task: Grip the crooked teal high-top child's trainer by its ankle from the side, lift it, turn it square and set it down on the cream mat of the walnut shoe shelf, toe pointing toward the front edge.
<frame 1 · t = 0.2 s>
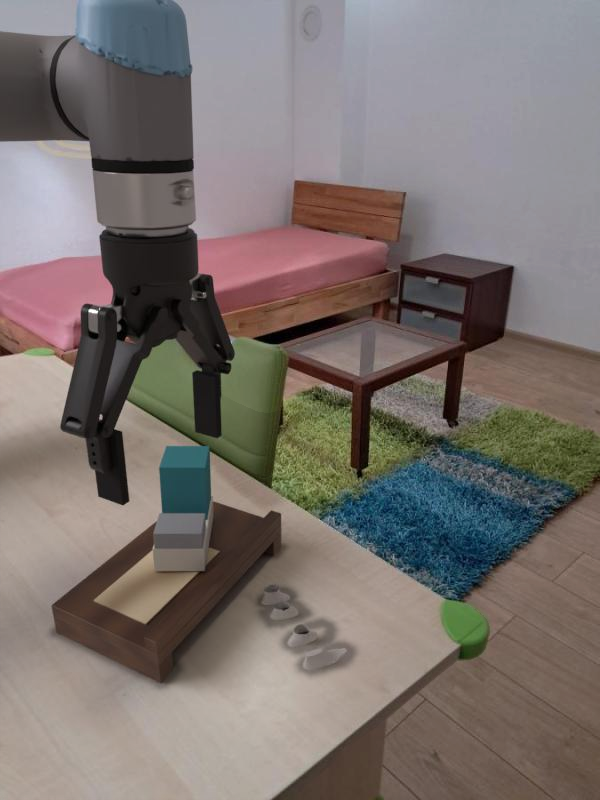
hand: (165, 463, 58), 22 cm above the table, tool pointing down, fingers open, 13 cm apart
trainer: (185, 541, 75), point 5 cm above the table, touching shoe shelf
baby socks: (301, 634, 69), on the table
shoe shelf: (179, 591, 74), on the table
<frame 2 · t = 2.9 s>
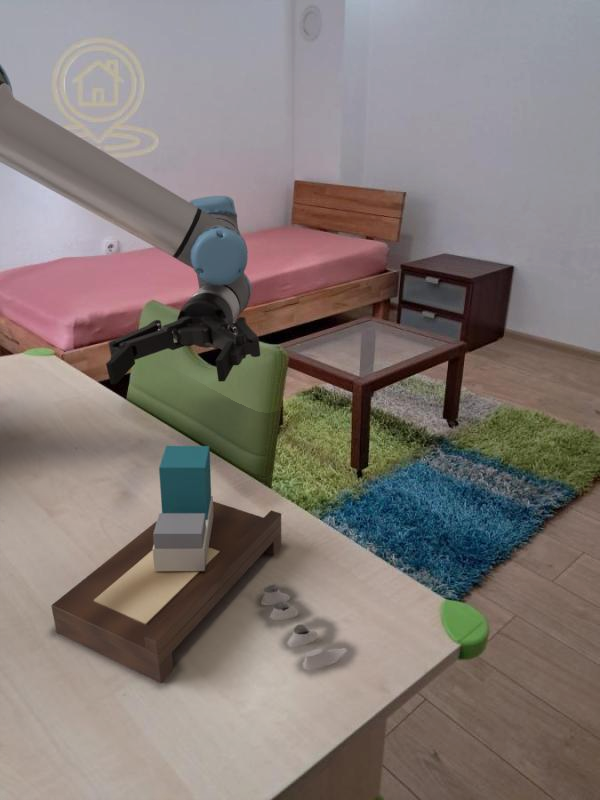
hand: (164, 372, 76), 23 cm above the table, tool horizontal, fingers open, 13 cm apart
nothing on the table moved.
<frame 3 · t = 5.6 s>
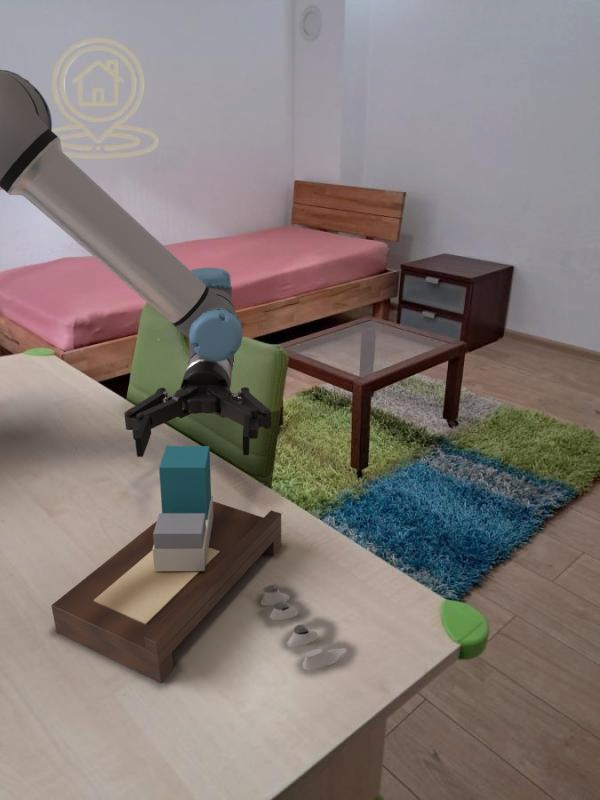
hand: (192, 447, 81), 12 cm above the table, tool horizontal, fingers open, 13 cm apart
nothing on the table moved.
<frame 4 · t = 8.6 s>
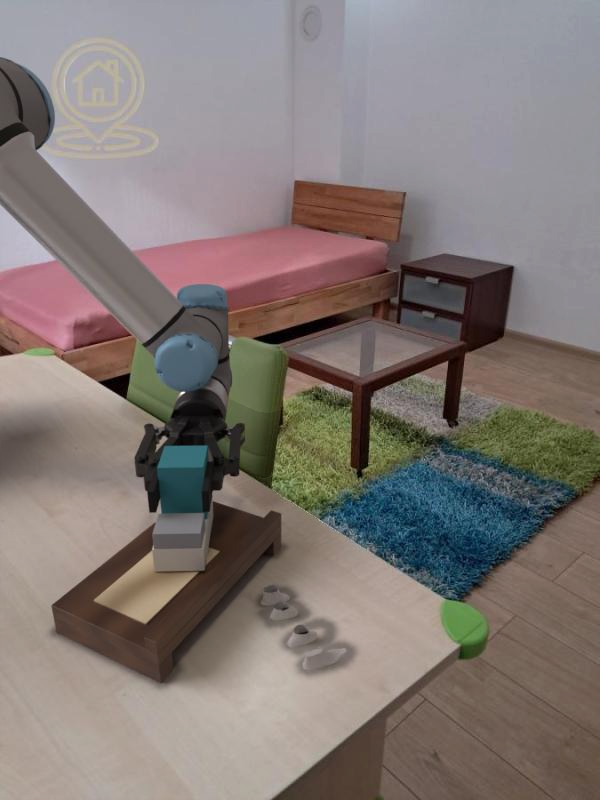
hand: (178, 501, 70), 12 cm above the table, tool horizontal, fingers closed on trainer, 5 cm apart
trainer: (185, 541, 75), point 5 cm above the table, touching gripper, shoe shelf
everything else where it was.
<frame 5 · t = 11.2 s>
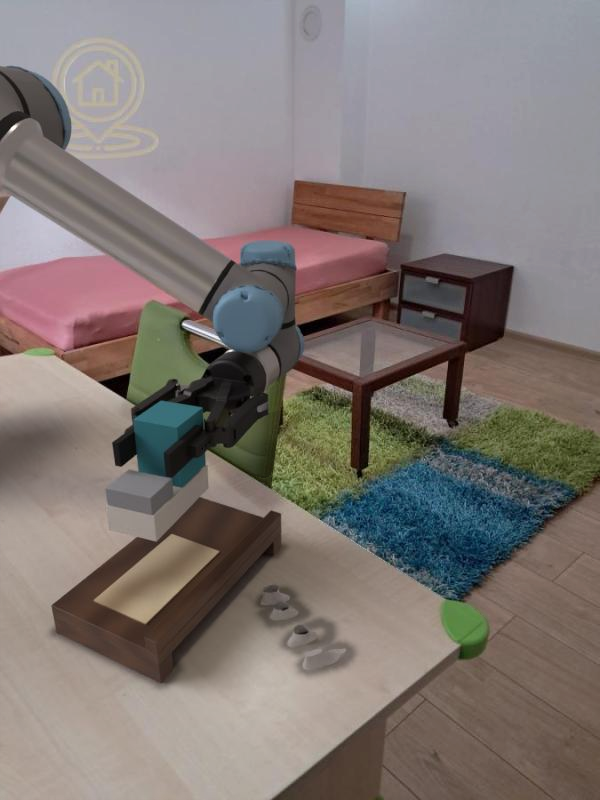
hand: (142, 459, 63), 20 cm above the table, tool horizontal, fingers closed on trainer, 5 cm apart
trainer: (161, 507, 68), point 12 cm above the table, touching gripper
everything else where it was.
when the fingers open (12 cm above the table, at t = 13.9 s): trainer stays where it is, resting on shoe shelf.
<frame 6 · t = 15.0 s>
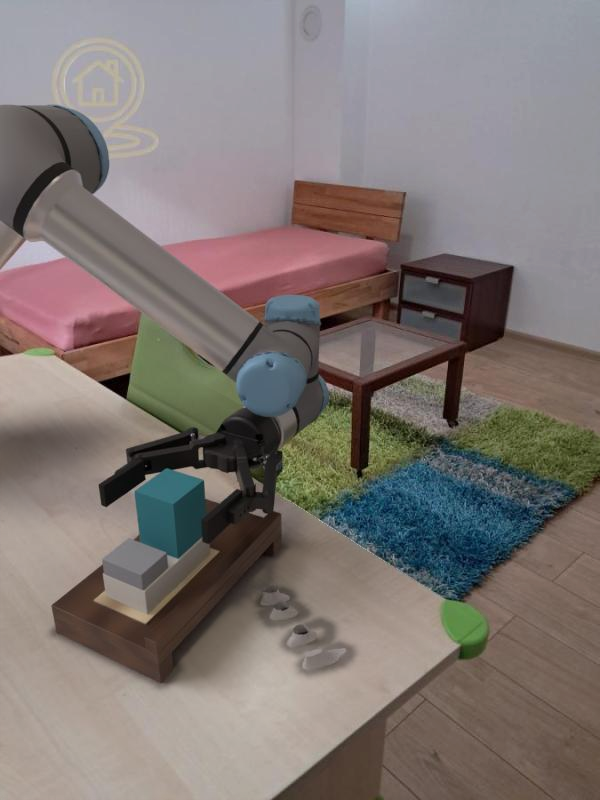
hand: (151, 513, 66), 13 cm above the table, tool horizontal, fingers open, 13 cm apart
trainer: (160, 574, 70), point 5 cm above the table, touching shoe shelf
everything else where it was.
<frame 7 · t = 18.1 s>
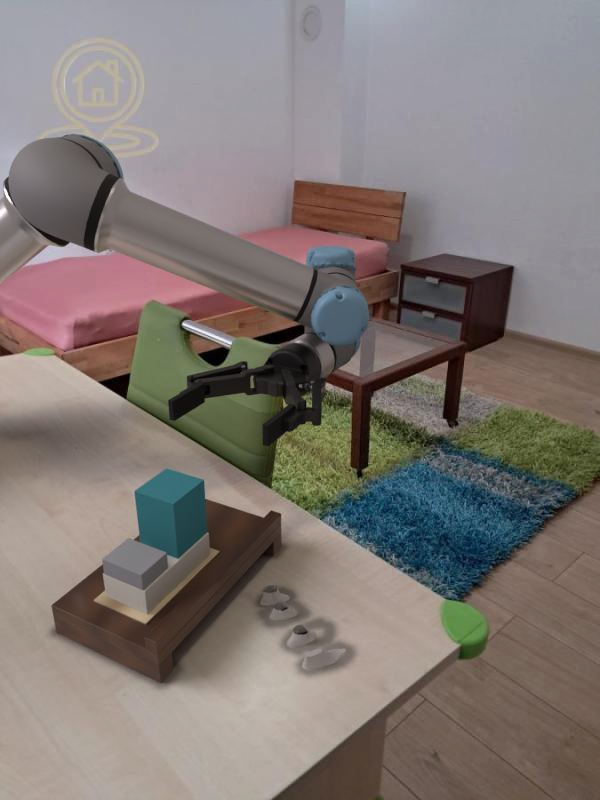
hand: (216, 422, 76), 17 cm above the table, tool horizontal, fingers open, 13 cm apart
nothing on the table moved.
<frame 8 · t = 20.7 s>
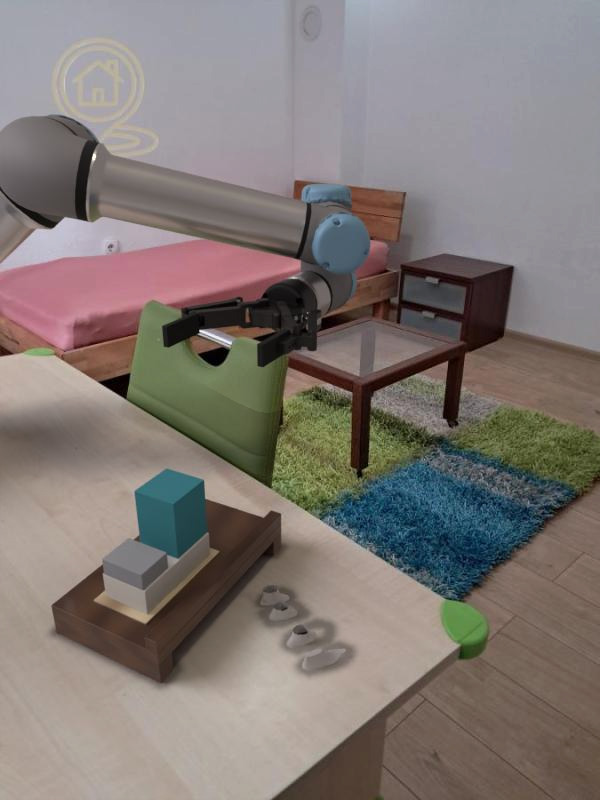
hand: (210, 346, 75), 26 cm above the table, tool horizontal, fingers open, 13 cm apart
nothing on the table moved.
at the end: trainer 0.1 cm from the target spot, point 4.7 cm above the table; trainer tilted 0°; the gripper is holding nothing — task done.
